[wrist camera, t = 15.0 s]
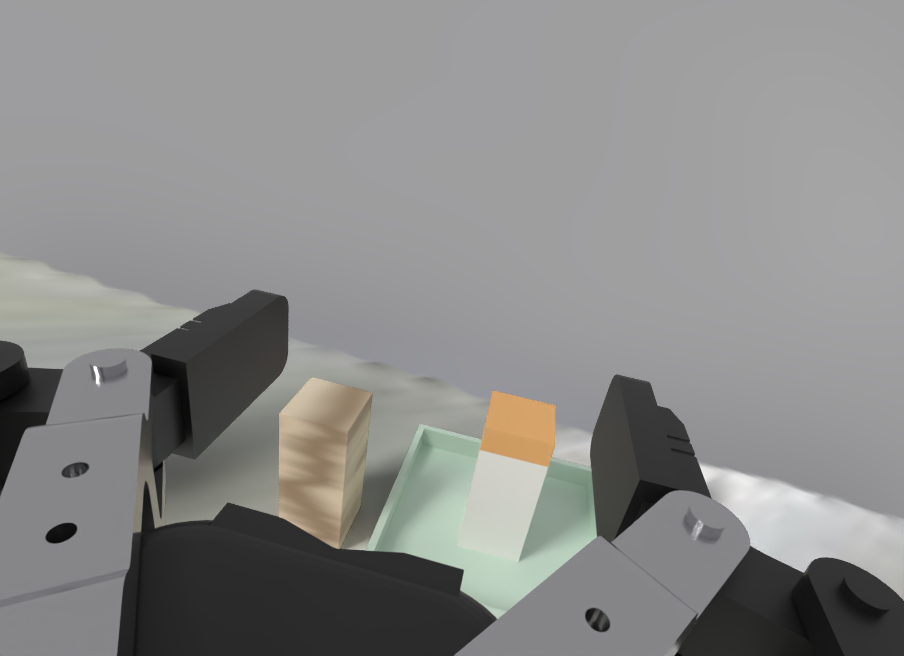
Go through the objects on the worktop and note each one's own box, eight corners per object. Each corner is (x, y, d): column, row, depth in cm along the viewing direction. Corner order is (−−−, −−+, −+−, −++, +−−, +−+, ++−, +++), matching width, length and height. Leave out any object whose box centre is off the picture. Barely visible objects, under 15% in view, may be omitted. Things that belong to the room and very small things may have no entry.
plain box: (278, 535, 40) (279, 413, 34) (307, 491, 44) (311, 377, 39) (338, 552, 39) (348, 431, 34) (360, 506, 44) (372, 392, 38)
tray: (351, 601, 36) (354, 575, 35) (416, 445, 52) (419, 423, 51) (603, 676, 34) (616, 651, 33) (589, 490, 50) (597, 469, 49)
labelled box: (457, 545, 41) (484, 427, 35) (467, 501, 45) (492, 390, 40) (518, 562, 40) (555, 445, 35) (521, 515, 44) (555, 405, 39)
